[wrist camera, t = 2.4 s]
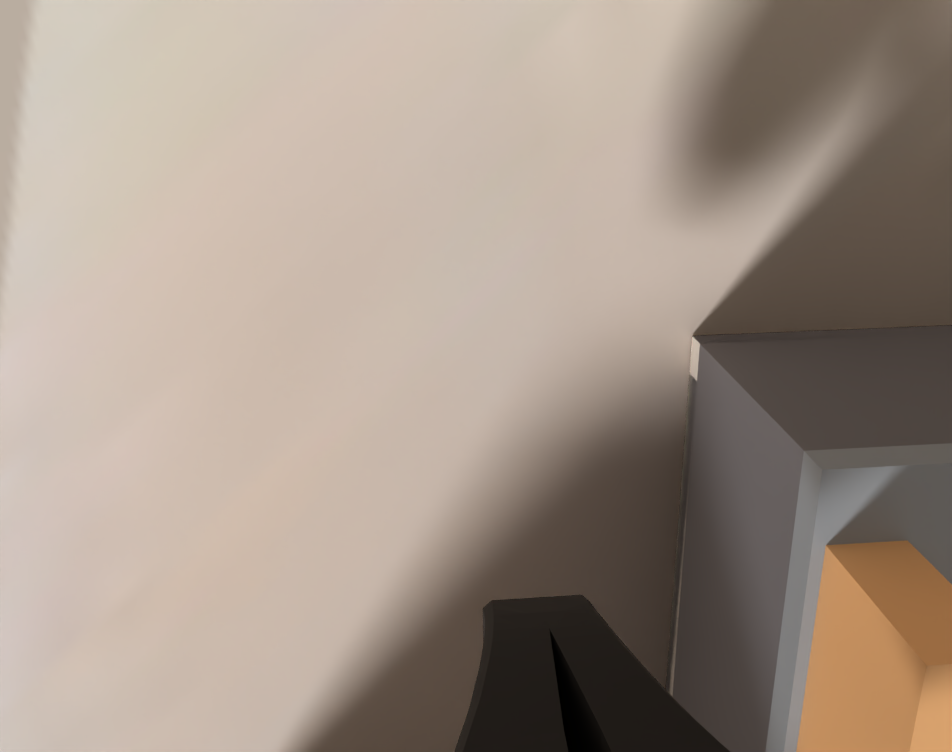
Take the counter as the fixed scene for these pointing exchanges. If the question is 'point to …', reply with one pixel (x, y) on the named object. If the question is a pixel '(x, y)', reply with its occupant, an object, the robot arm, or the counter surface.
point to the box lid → (868, 605)
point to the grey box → (775, 490)
